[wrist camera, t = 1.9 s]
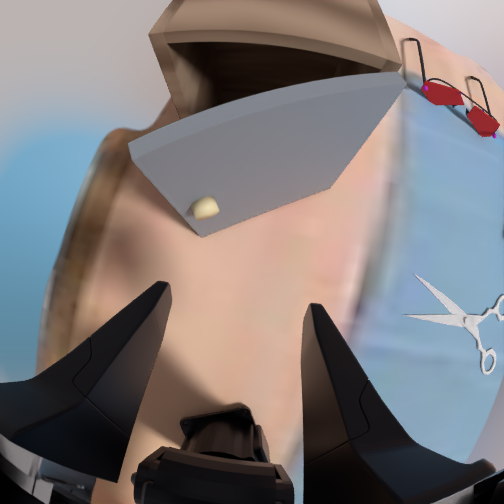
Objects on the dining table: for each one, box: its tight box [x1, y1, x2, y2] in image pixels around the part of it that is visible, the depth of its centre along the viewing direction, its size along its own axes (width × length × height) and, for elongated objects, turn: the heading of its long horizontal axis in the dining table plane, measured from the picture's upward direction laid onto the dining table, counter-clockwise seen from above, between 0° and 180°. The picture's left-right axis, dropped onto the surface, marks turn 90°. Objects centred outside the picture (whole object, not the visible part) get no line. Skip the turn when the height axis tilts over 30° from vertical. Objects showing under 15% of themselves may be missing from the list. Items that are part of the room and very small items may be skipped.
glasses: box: [409, 38, 500, 138], centre depth 24 cm, size 14×16×5 cm
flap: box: [128, 72, 407, 238], centre depth 16 cm, size 2×12×14 cm, turn 112°
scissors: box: [405, 274, 504, 375], centre depth 22 cm, size 11×1×20 cm
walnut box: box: [148, 0, 402, 120], centre depth 17 cm, size 9×12×15 cm
